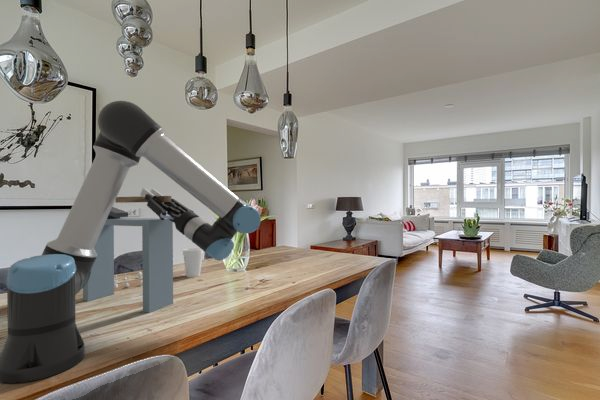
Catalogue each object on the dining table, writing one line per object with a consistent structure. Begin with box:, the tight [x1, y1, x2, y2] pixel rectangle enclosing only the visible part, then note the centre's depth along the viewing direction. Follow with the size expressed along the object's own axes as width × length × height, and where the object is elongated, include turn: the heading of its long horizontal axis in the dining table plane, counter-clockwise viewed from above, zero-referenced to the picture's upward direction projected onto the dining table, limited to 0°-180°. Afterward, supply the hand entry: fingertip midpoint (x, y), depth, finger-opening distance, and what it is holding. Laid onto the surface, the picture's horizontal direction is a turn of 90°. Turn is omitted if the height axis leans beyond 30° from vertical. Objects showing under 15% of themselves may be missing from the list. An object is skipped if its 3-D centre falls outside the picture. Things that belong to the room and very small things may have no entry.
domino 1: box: [107, 215, 121, 219], centre depth 119 cm, size 5×2×10 cm
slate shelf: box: [82, 217, 174, 313], centre depth 114 cm, size 10×34×30 cm, turn 66°
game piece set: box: [114, 271, 143, 289], centre depth 142 cm, size 19×20×4 cm
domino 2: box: [109, 206, 129, 218], centre depth 117 cm, size 5×2×10 cm
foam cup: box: [182, 247, 204, 278], centre depth 154 cm, size 10×9×13 cm
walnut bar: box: [114, 195, 172, 204], centre depth 111 cm, size 3×24×2 cm, turn 66°
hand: (147, 191), depth 110 cm, fingers closed on walnut bar, 3 cm apart
